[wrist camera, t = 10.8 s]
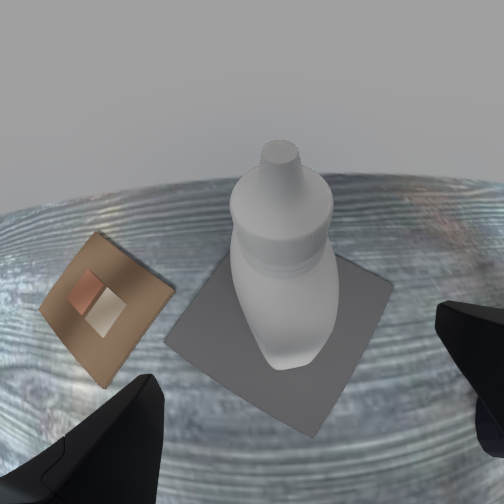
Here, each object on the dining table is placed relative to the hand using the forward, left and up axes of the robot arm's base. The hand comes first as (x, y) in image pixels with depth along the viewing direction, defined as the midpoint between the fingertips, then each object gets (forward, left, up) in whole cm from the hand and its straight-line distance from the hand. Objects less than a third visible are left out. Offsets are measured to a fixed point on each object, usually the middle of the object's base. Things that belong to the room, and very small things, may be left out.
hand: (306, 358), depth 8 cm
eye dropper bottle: (+2, -2, -8) cm, 8 cm away
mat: (+2, -2, -8) cm, 8 cm away
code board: (+13, +4, -8) cm, 16 cm away
